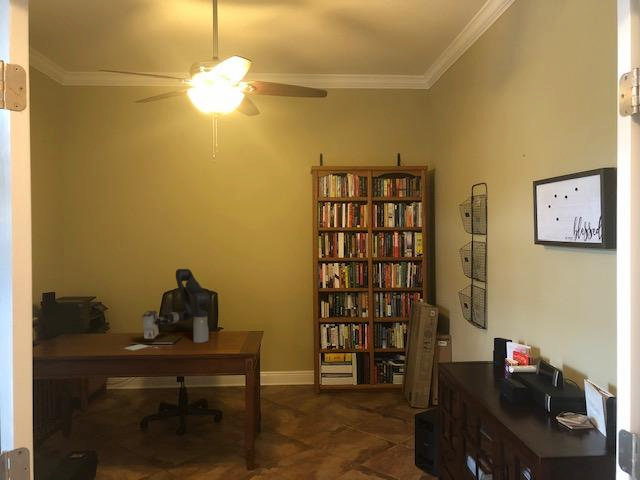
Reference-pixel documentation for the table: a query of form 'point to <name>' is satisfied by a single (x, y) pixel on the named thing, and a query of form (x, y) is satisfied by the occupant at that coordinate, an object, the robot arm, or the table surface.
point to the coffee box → (150, 324)
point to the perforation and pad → (136, 347)
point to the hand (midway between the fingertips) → (151, 322)
